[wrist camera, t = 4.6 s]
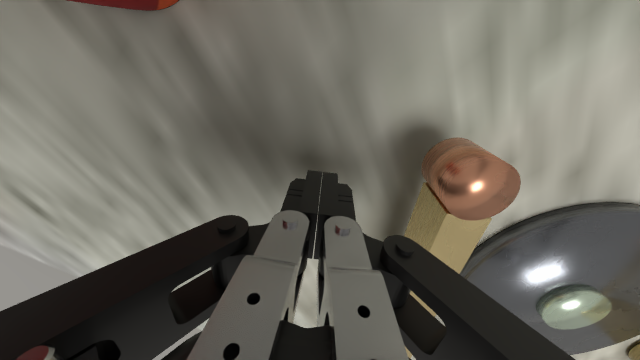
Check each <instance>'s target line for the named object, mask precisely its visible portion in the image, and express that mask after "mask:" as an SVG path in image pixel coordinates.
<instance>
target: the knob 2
mask: <svg viewBox="0 0 640 360" xmlns="http://www.w3.org/2000/svg"><path fill="white" fill-rule="evenodd" d="M628 356H629V358H630V359H631V360H640V344H638V345H636V346H635V347H633V348H632V349H631V350H630V351H629V353H628Z"/></svg>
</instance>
